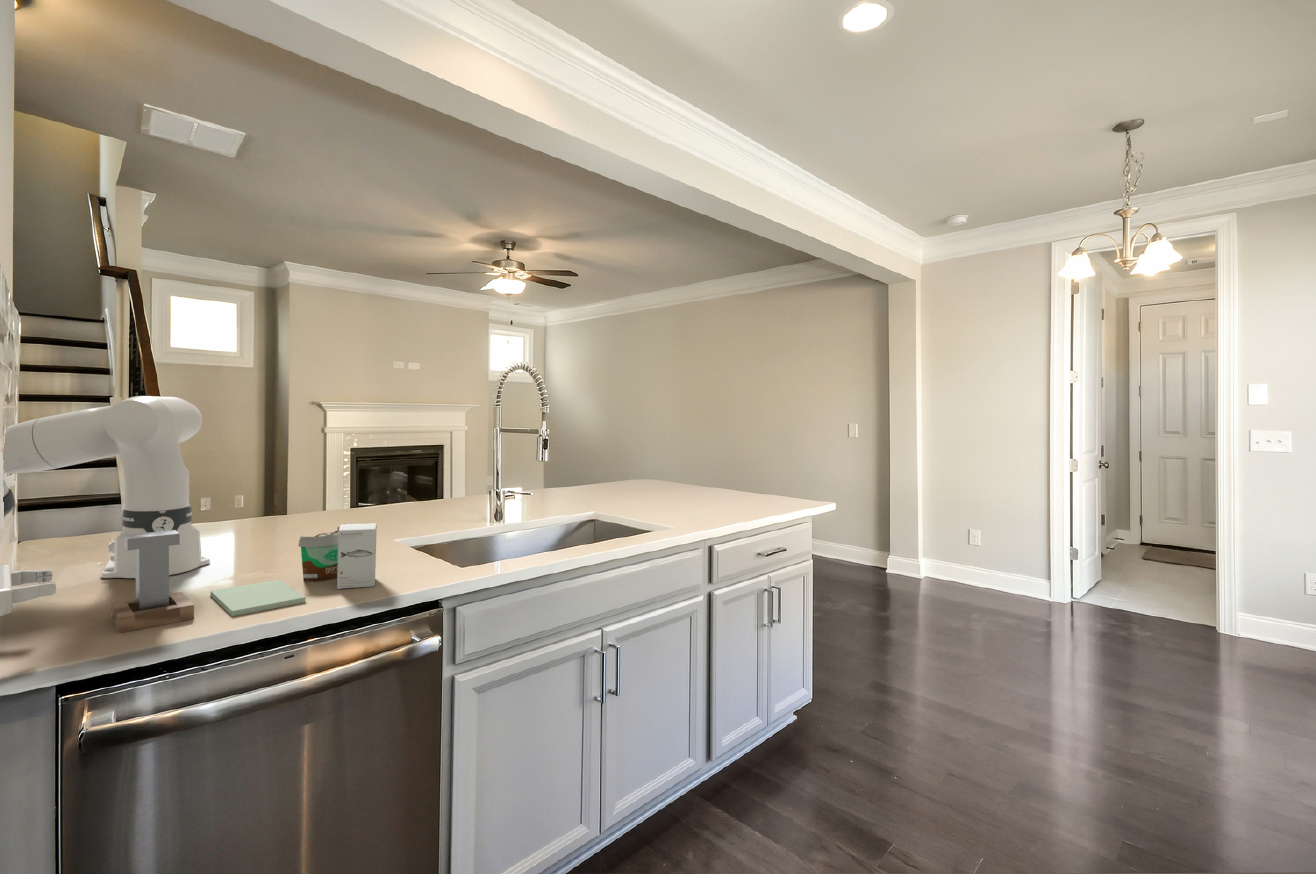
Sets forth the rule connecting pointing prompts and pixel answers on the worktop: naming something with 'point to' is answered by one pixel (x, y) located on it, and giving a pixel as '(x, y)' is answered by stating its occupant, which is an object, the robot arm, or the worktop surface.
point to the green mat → (257, 597)
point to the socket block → (151, 613)
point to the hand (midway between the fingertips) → (53, 581)
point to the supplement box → (356, 555)
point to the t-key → (152, 566)
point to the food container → (320, 556)
